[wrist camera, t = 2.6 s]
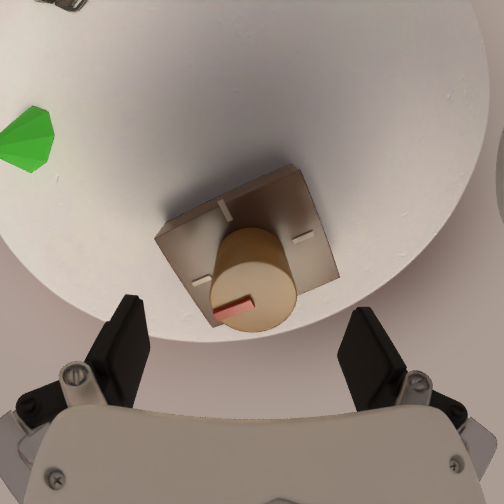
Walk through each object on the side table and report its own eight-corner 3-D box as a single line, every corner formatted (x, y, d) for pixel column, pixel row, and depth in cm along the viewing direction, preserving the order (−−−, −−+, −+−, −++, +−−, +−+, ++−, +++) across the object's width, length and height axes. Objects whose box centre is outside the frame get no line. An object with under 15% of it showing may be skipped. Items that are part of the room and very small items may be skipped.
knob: (268, 215, 16) (278, 248, 12) (295, 273, 18) (309, 318, 14) (204, 244, 17) (191, 285, 13) (235, 297, 19) (233, 346, 14)
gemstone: (65, 134, 16) (15, 142, 11) (31, 186, 17) (-14, 207, 12) (34, 92, 14) (-14, 92, 9) (3, 144, 15) (-41, 156, 10)
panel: (289, 159, 18) (298, 165, 15) (329, 261, 21) (342, 282, 18) (163, 219, 19) (150, 235, 17) (217, 307, 23) (214, 332, 20)
